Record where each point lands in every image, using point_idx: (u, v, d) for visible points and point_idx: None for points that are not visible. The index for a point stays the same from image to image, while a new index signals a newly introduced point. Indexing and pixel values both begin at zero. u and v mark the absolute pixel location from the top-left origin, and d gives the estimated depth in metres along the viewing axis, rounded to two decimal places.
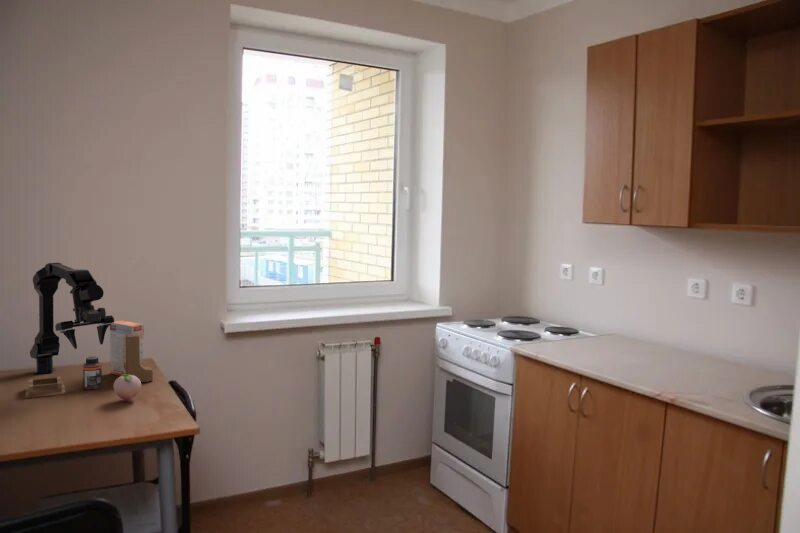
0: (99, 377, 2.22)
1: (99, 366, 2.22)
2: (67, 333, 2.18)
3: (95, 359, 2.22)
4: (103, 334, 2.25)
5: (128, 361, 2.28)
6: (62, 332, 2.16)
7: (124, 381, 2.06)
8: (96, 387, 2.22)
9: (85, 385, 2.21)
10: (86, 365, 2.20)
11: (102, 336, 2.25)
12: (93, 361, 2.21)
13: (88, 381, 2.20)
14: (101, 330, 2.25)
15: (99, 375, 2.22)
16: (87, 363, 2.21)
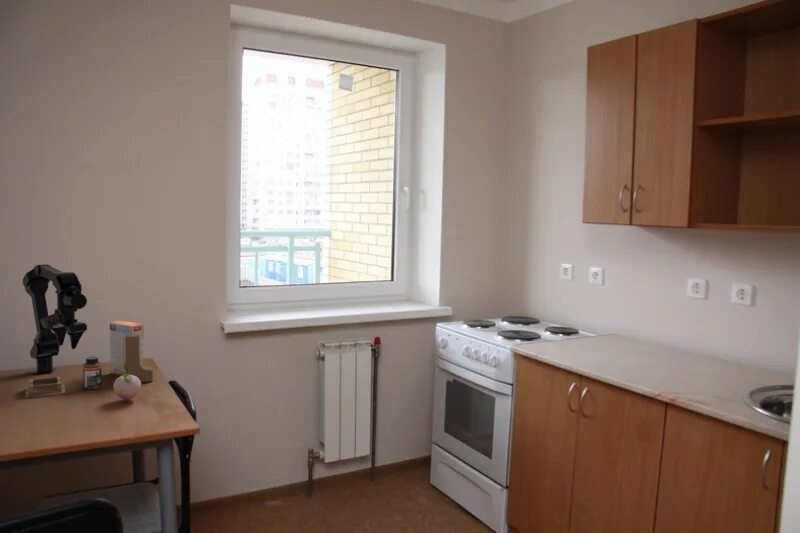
0: (99, 377, 2.22)
1: (99, 366, 2.22)
2: None
3: (95, 359, 2.22)
4: (71, 340, 2.26)
5: (128, 361, 2.28)
6: None
7: (124, 381, 2.06)
8: (96, 387, 2.22)
9: (85, 385, 2.21)
10: (86, 365, 2.20)
11: (71, 342, 2.26)
12: (93, 361, 2.21)
13: (88, 381, 2.20)
14: None
15: (99, 375, 2.22)
16: (87, 363, 2.21)
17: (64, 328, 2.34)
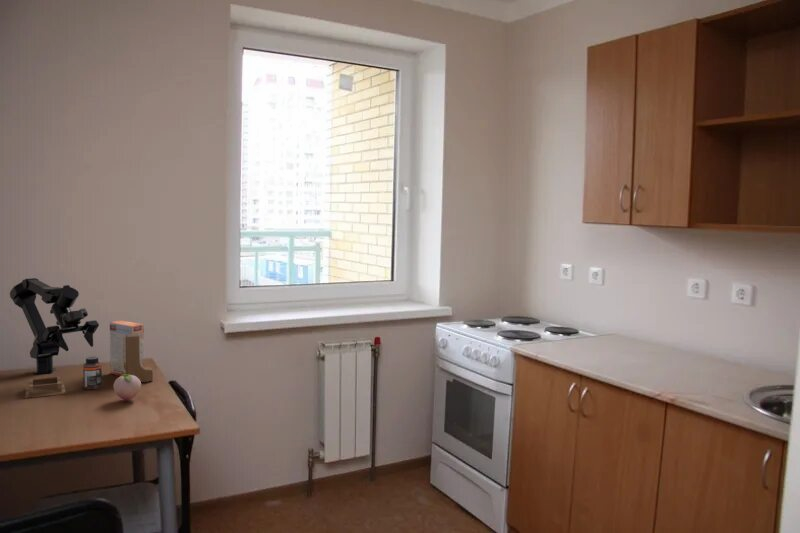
0: (99, 377, 2.22)
1: (99, 366, 2.22)
2: (56, 340, 2.24)
3: (95, 359, 2.22)
4: (91, 336, 2.32)
5: (128, 361, 2.28)
6: (50, 338, 2.22)
7: (124, 381, 2.06)
8: (96, 387, 2.22)
9: (85, 385, 2.21)
10: (86, 365, 2.20)
11: (91, 338, 2.31)
12: (93, 361, 2.21)
13: (88, 381, 2.20)
14: (88, 334, 2.32)
15: (99, 375, 2.22)
16: (87, 363, 2.21)
17: None
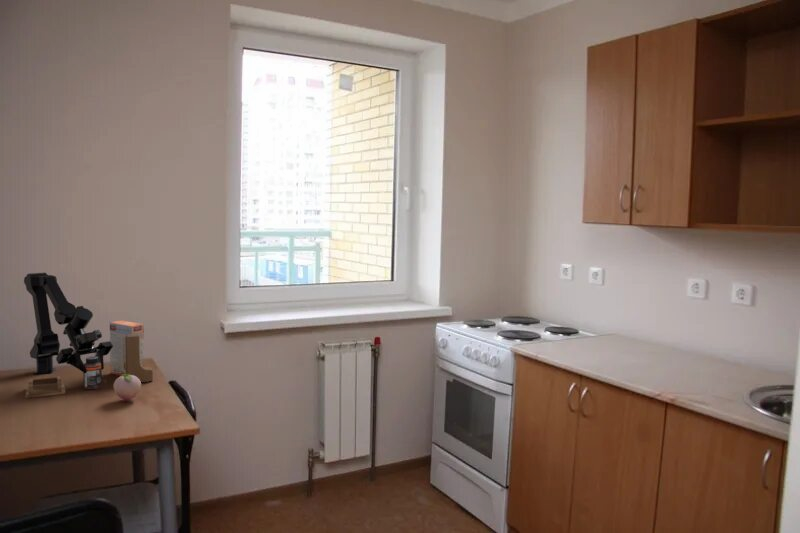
0: (99, 377, 2.22)
1: (99, 366, 2.22)
2: (74, 362, 2.21)
3: (95, 359, 2.22)
4: (101, 359, 2.26)
5: (128, 361, 2.28)
6: (68, 360, 2.19)
7: (124, 381, 2.06)
8: (96, 387, 2.22)
9: (85, 385, 2.21)
10: (86, 365, 2.20)
11: (101, 361, 2.25)
12: (93, 361, 2.21)
13: (88, 380, 2.20)
14: (98, 356, 2.26)
15: (99, 375, 2.22)
16: (87, 363, 2.21)
17: None
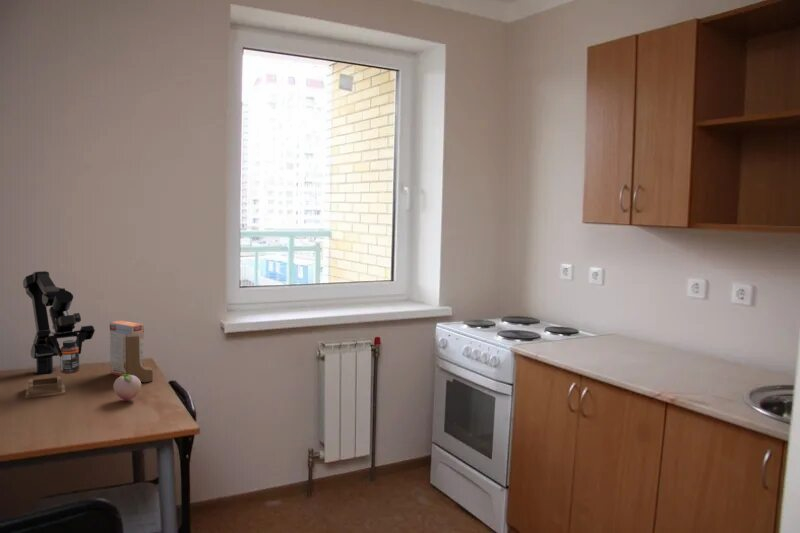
0: (75, 361, 2.18)
1: (75, 350, 2.18)
2: (51, 344, 2.18)
3: (71, 343, 2.17)
4: (80, 343, 2.21)
5: (128, 361, 2.28)
6: (45, 343, 2.17)
7: (124, 381, 2.06)
8: (71, 371, 2.17)
9: (61, 369, 2.17)
10: (62, 348, 2.17)
11: (79, 345, 2.21)
12: (69, 344, 2.17)
13: (64, 364, 2.16)
14: (78, 340, 2.22)
15: (75, 359, 2.18)
16: (63, 346, 2.17)
17: None
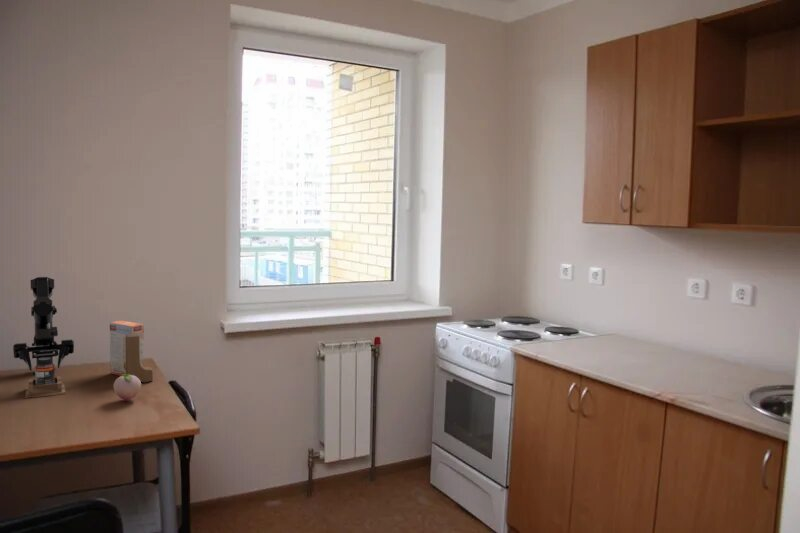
0: (48, 379, 2.16)
1: (49, 368, 2.16)
2: (25, 358, 2.17)
3: (45, 360, 2.15)
4: (60, 357, 2.19)
5: (128, 361, 2.28)
6: (19, 356, 2.16)
7: (124, 381, 2.06)
8: None
9: None
10: (36, 365, 2.16)
11: (59, 359, 2.19)
12: (43, 362, 2.15)
13: (37, 382, 2.15)
14: (59, 354, 2.20)
15: (48, 377, 2.16)
16: (38, 363, 2.16)
17: None
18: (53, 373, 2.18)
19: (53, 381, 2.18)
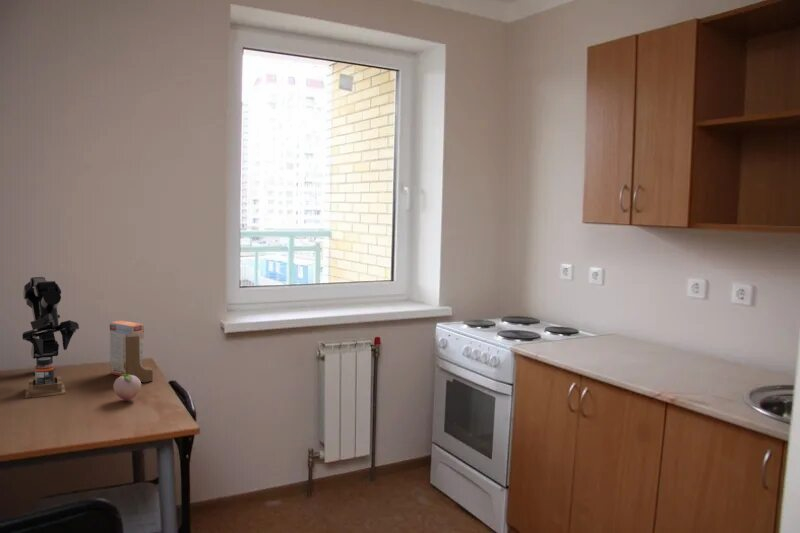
0: (48, 379, 2.16)
1: (48, 368, 2.16)
2: None
3: (45, 360, 2.15)
4: (63, 339, 2.27)
5: (128, 361, 2.28)
6: None
7: (124, 381, 2.06)
8: None
9: None
10: (36, 365, 2.16)
11: (63, 341, 2.27)
12: (43, 362, 2.15)
13: (37, 382, 2.15)
14: None
15: (48, 377, 2.16)
16: (38, 364, 2.16)
17: (41, 340, 2.31)
18: (53, 373, 2.17)
19: (53, 381, 2.18)
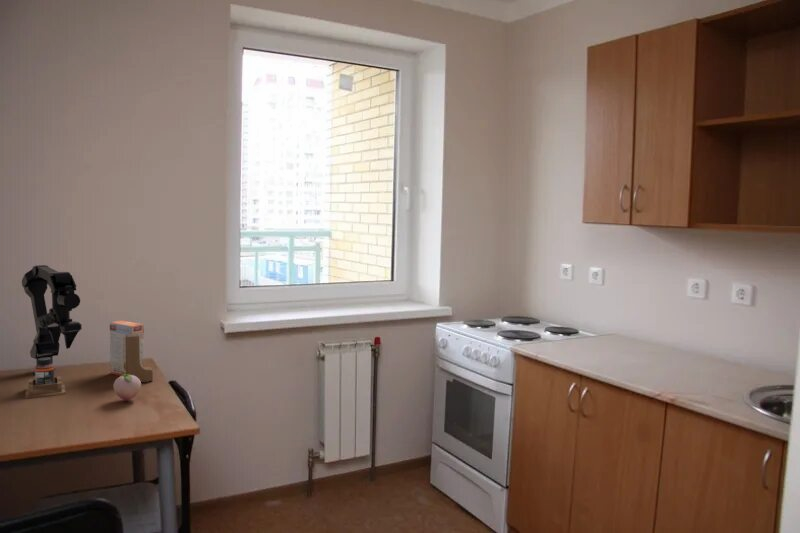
0: (48, 379, 2.16)
1: (48, 368, 2.16)
2: None
3: (45, 360, 2.15)
4: (65, 339, 2.26)
5: (128, 361, 2.28)
6: None
7: (124, 381, 2.06)
8: None
9: None
10: (36, 365, 2.16)
11: (65, 341, 2.27)
12: (43, 362, 2.15)
13: (37, 382, 2.15)
14: None
15: (48, 377, 2.16)
16: (38, 364, 2.16)
17: (59, 327, 2.34)
18: (53, 373, 2.18)
19: (53, 381, 2.18)
